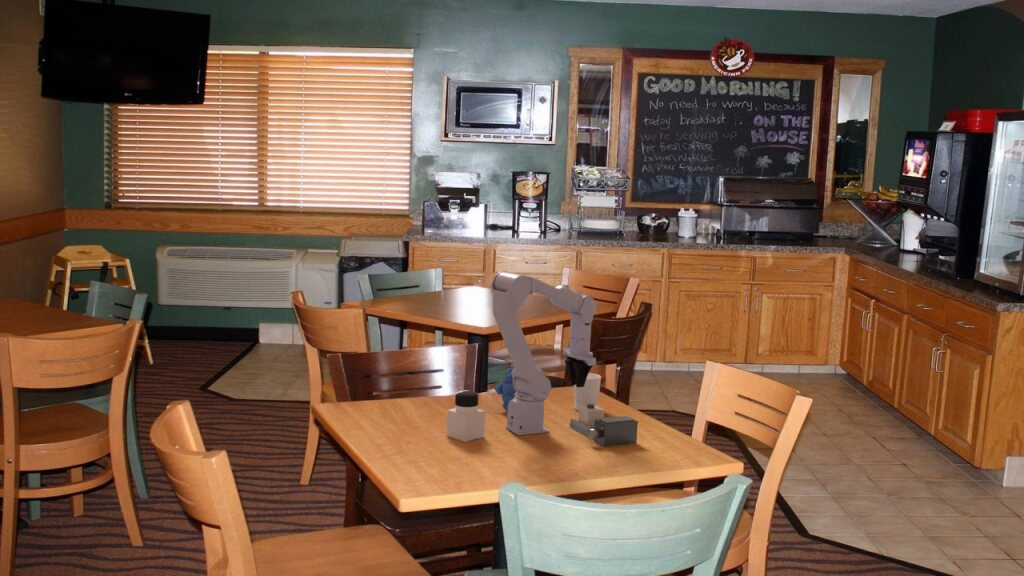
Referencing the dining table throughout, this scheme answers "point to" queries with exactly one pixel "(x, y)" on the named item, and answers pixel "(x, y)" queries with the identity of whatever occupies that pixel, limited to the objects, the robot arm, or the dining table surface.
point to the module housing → (609, 430)
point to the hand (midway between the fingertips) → (577, 385)
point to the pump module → (590, 414)
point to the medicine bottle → (465, 417)
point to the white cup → (587, 391)
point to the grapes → (506, 389)
